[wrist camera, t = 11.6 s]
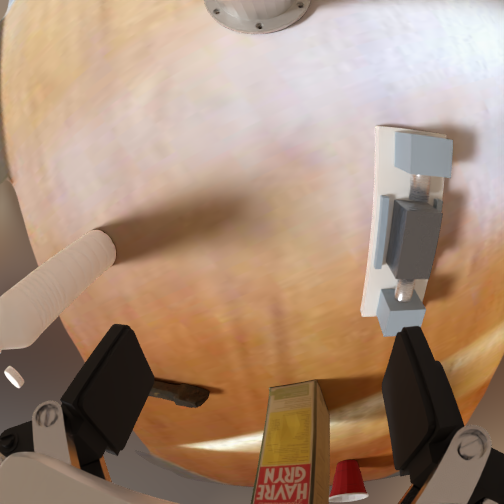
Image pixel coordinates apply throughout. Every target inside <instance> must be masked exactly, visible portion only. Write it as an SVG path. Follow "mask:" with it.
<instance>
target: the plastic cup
mask: <svg viewBox="0 0 504 504" xmlns="http://www.w3.org/2000/svg"><path fill="white" fill-rule="evenodd" d="M366 497H368V494H367V492H366V490H365V487H364V483H363V479H362V475H361V471H360V469H359V465H358V462H357V461H356V460H345V461H341V462H339V463H338V464H337V467H336V473H335V476H334V481H333V486H332V490H331V494H330V496H329V501H330V502H348V501H355V500H360V499H363V498H366Z"/></svg>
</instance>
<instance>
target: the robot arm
mask: <svg viewBox="0 0 504 504" xmlns="http://www.w3.org/2000/svg"><path fill="white" fill-rule="evenodd" d="M310 2H311V0H204V4H205V6H206V8H207V11H208V12H209V13H210V15H211V16H212V17H213V18H214V19H215V20H216V21H217V22H218V23H220V24H221V25H223V26H224V27H226V28H228V29H231V30H233V31H237V32H241V33H247V34H265V33H271V32H275V31H278V30H281V29H284V28H286V27H288V26H290V25H292V24H293V23H295V22H296V21H297V20H299V19H300V18H301V17H302V16H303V15H304V13H305V12H306V11H307V9H308V7H309V5H310ZM299 6H302V7H303V8H299ZM218 12H219V14H217V13H218ZM216 14H217V15H216ZM259 27H262V29H258V28H259ZM153 385H154V375H153V373H152V371H151V369H150V367H149V365H148V362H147V360H146V358H145V356H144V354H143V351H142V349H141V347H140V344H139V342H138V340H137V337H136V335H135V333H134V331H133V330H132V329H131V328H130V327H129V326H128V325H121V324H114V325H113V326H112V327H111V328H110V329H109V331H108V332H107V333H106V335H105V336H104V337H103V339H102V340H101V341H100V343H99V344H98V346H97V347H96V348H95V350H94V351H93V353H92V354H91V355H90V357H89V358H88V360H87V361H86V362H85V364H84V366H83V367H82V368H81V370H80V371H79V373H78V374H77V375H76V377H75V378H74V380H73V381H72V383H71V384H70V386H69V387H68V389H67V391H66V392H65V393H64V395H63V396H62V398H61V399H60V400H61V402H62V405H61V406H60V405H59V403H57V402H55V401H46V402H44V403H41V404H40V405H39V406H38V407H37V408H36V409H35V411H34V413H33V417H32V421H29V422H26V423H23V424H21V425H18V426H15V427H12V428H9V429H7V430H5V431H4V432H3V433H2V434H1V436H0V504H178V503H174V502H170V501H167V500H163V499H159V498H155V497H152V496H149V495H146V494H143V493H139V492H136V491H133V490H130V489H128V488H125V487H122V486H119V485H117V484H114V483H112V481H111V478H110V475H109V472H108V469H107V466H106V463H105V460H104V457H103V454H104V452H105V451H106V452H108V453H111V454H114V455H117V456H118V454H119V452H120V450H123V449H124V447H125V445H126V443H127V440H128V439H129V436H130V434H131V432H132V430H133V428H134V425H135V423H136V421H137V419H138V417H139V415H140V412H141V410H142V408H143V406H144V404H145V402H146V400H147V397H148V395H149V393H150V391H151V389H152V387H153ZM382 393H383V398H384V404H385V409H386V414H387V420H388V426H389V432H390V438H391V444H392V451H393V459H394V466H395V469H396V470H400V476H404V475H410V480H411V483H412V485H411V486H410V488H409V489H408V490H407V492H406V493H405V495H404V496H403V497H402V499H401V500H400V501H399V503H398V504H504V454H503V453H501V452H499V451H497V450H495V449H493V448H491V446H492V445H491V438H490V436H489V434H488V432H487V431H486V430H485V429H484V428H482V427H480V426H476V425H467V426H465V427H464V424H463V421H462V417H461V414H460V412H459V409H458V406H457V403H456V400H455V397H454V395H453V392H452V389H451V387H450V384H449V381H448V379H447V376H446V374H445V371H444V369H443V367H442V365H441V363H440V362H439V361H435V360H434V357H433V355H432V352H431V350H430V348H429V345H428V343H427V341H426V338H425V336H424V334H423V332H422V330H421V328H420V326H410V327H403V328H402V330H401V332H398V333H397V335H396V338H395V342H394V345H393V349H392V353H391V356H390V359H389V363H388V366H387V369H386V372H385V375H384V379H383V382H382Z"/></svg>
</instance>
